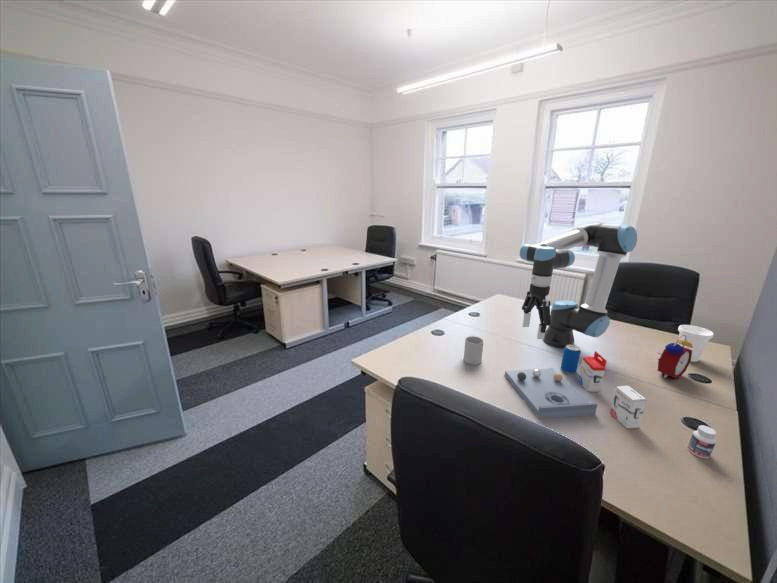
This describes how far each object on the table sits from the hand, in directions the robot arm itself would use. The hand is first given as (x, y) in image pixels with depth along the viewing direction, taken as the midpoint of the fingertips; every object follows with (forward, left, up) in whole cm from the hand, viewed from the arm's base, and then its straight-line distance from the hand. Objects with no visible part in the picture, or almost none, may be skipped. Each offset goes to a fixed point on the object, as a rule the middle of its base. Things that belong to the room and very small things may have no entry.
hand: (532, 332), depth 139 cm
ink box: (-19, +33, -20) cm, 43 cm away
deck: (0, +15, -20) cm, 25 cm away
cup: (-86, -5, -20) cm, 89 cm away
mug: (+20, -15, -20) cm, 32 cm away
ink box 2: (-21, +12, -20) cm, 32 cm away
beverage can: (-20, 0, -20) cm, 29 cm away
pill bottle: (-31, +49, -20) cm, 62 cm away
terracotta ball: (-8, +11, -16) cm, 21 cm away
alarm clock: (-63, +7, -20) cm, 67 cm away
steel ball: (0, +7, -16) cm, 17 cm away
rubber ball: (+7, +9, -16) cm, 19 cm away
